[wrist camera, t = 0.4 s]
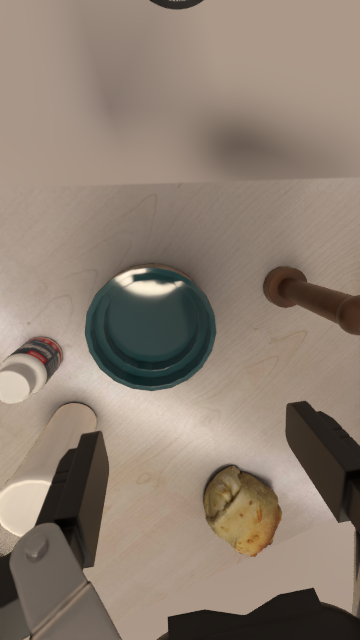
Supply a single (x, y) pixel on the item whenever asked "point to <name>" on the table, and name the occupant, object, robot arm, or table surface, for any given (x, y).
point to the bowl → (150, 327)
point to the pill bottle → (28, 369)
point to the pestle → (313, 298)
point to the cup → (42, 467)
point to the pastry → (242, 510)
